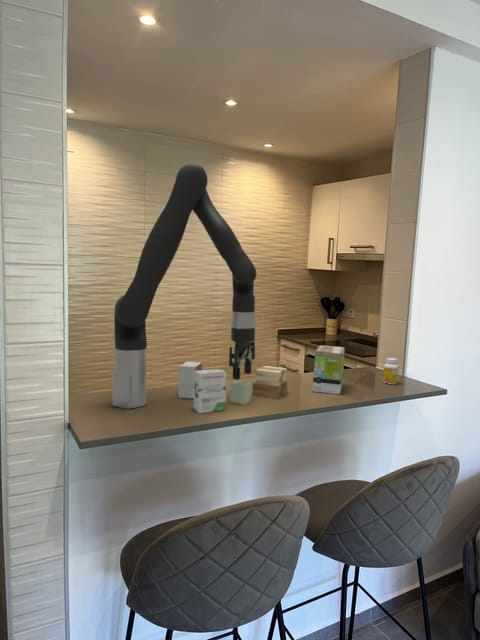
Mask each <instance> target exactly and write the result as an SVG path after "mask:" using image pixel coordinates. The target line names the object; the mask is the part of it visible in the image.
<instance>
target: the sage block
mask: <svg viewBox="0 0 480 640" xmlns="http://www.w3.org/2000/svg"><path fill="white" fill-rule="evenodd" d="M229 393H230V394H229V402H230V403H234V404H239V405H240V404H241V405H246V404H247V403H248V402H250V401H251V400H252V382H251V381H246V380H240V379H239V380H235V381H233V382H231V383H230V391H229Z"/></svg>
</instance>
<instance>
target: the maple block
mask: <svg viewBox="0 0 480 640" xmlns="http://www.w3.org/2000/svg"><path fill="white" fill-rule="evenodd" d="M286 381H287V368H286V367H285V368H284V367H279V366H277V367H276V366H269V365H263V366H261V367H259V368H257V369H256V370H255V382H256V383H259V384H266V385H272V386H279V385H281V384H282V383H284V382H286Z"/></svg>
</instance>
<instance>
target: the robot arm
mask: <svg viewBox="0 0 480 640" xmlns="http://www.w3.org/2000/svg"><path fill="white" fill-rule="evenodd" d="M208 183H209V182H208V175H207V172H206V171H205V169H204V168H203V167H202V165H200V164H198V163H193V162H192V163H187V164H185V165H183V166H182V167H180V169H179V170H178V171H177V174H176V177H175V181H174V183H173V187H172V190H171V193H170V195H169V198H168V201H167V203H166V205H165V206H164V208H163V210H162V211H161V213H160V215H159V216H158V217H157V219H156V221H155V223H154V225H153V227H152V229H151V230H150V232H149V234H148V236H147V239H146V241H145V244H144V245H143V248H142V250H141V254H140V257H139V259H138V264H137V267H136V272H135V275H134V277H133V279H132V281H131V283H130V284H129V286H128V288H127V290H126V291H125V294H124V295H122V296H120V297H119V298H118V299H117V301H116V302H115V305H114V374H113V375H112V406H113V407H118V408H122V409H127V410H129V409H134V408H141V407H143V406H145V405H146V404H147V356H148V355H147V352H148V351H147V349H148V348H147V346H148V344H147V343H148V340H147V333H146V325H147V324H146V321H147V318H148V316H149V313H150V309H151V306H152V304H153V301H154V299H155V296H156V293H157V290H158V288H159V286H160V283H161V282H162V280H163V279H164V277H165V275H166V274H167V272H168V269H169V268H170V266H171V264H172V262H173V260H174V258H175V256H176V254H177V251H178V249H179V247H180V246H181V245H180V244H181V242H182V240H183V237H184V234H185V231H186V228H187V225H188V221H189V218H190V216H191V214H192V211H193V213H194V214H195V215H196V217H197V218H198V220H199V222H200V223H201V225H202V226H203V228H204V230H205V231H206V233H207V236H208V237H209V238H210V240H211V242H212V244H213V245H214V247H215V249H216V250H217V252H218V254H219V255H220V257H221V258H222V259H223V261H224V262H225V263H226V265H227V267H228V268H229V271H230V273H231V274H232V275H231V278H232V279H231V280H232V303H231V304H232V306H231V307H232V310H231V320H230V321H231V322H230V323H231V325H230V326H231V327H230V330H231V331H230V341H232V342H234V346H230V347H229V354H228V355H229V357H228V359H229V360H228V361H229V362H228V366H229V367H231V368H232V379H233V380H235V381H237V380H239V381H240V379H241V365H242V363H243V362H244V365H243V367H244V370H243V371H244V374H246V375H248V374H249V375H250V374H252V363H253V360H255V359H256V342H255V340H256V337H255V336H256V314H255V313H256V311H255V309H256V308H255V306H256V300H255V299H256V297H255V293H254V288H255V287H254V285H255V283H254V282H255V281H256V279H257V269H256V267H255V265H254V263H253V262H252V260H251V259H250V258H249V256H248V255H247V253H246V252H245V251H244V248H243V247H242V245H241V243H240V241H239V240H238V237H237V235H236V234H235V233H234V231H233V229H232V228H231V226H230V225H229V224H228V222H227V221H226V220H225V218H224V217H223V216H222V215H221V214H220V212H219V211H218V210H217V208H216V207H215V206H214V203H213V202H212V199H211V197H210V196H209V193H208V190H207V186H208Z"/></svg>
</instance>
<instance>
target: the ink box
mask: <svg viewBox="0 0 480 640" xmlns="http://www.w3.org/2000/svg"><path fill="white" fill-rule="evenodd" d="M226 393H227V371H225V370H222V369H220V368H219V369H202V370H200V371H194V399H193V410H195V411H196V412H197V413H198V414H204V413H205V414H206V413H211V412H212V413H213V412H221V411H226V407H227V404H226V403H227V400H226V399H227V394H226Z"/></svg>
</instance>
